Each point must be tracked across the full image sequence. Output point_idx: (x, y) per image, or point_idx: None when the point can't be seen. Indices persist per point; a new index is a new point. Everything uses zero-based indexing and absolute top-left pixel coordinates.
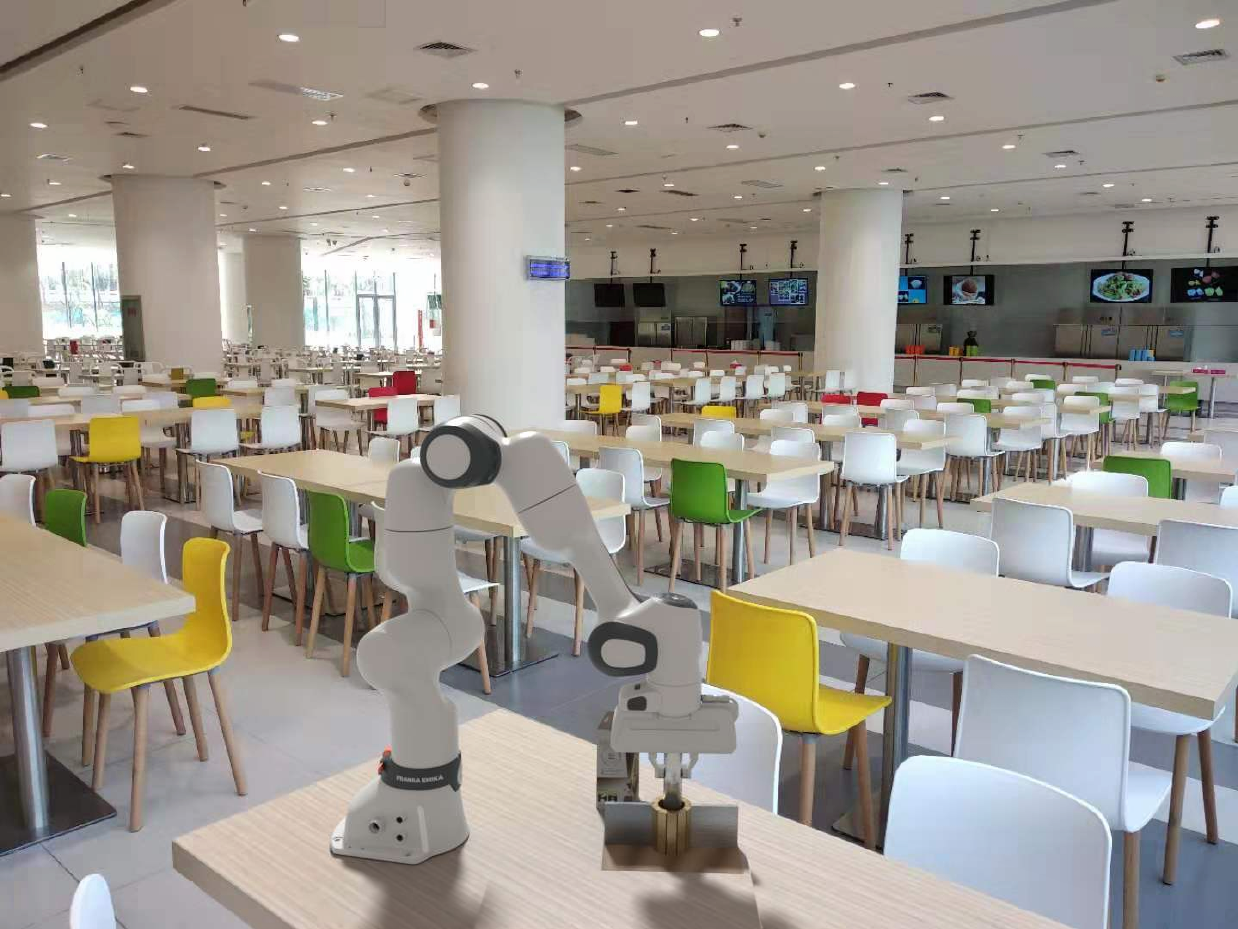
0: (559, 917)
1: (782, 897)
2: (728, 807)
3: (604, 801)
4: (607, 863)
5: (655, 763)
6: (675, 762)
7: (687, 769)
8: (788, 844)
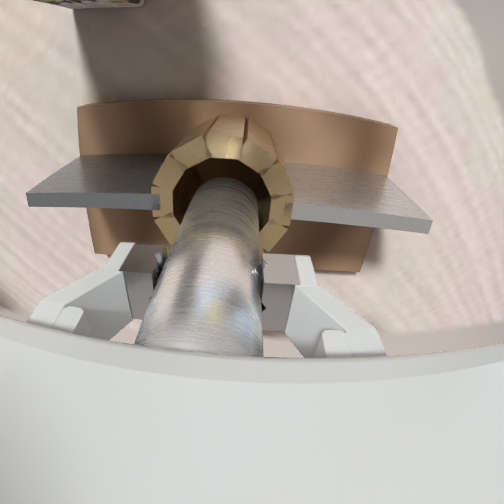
0: None
1: (394, 295)
2: (403, 228)
3: (68, 3)
4: (100, 235)
5: (107, 338)
6: None
7: (285, 331)
8: (473, 150)
